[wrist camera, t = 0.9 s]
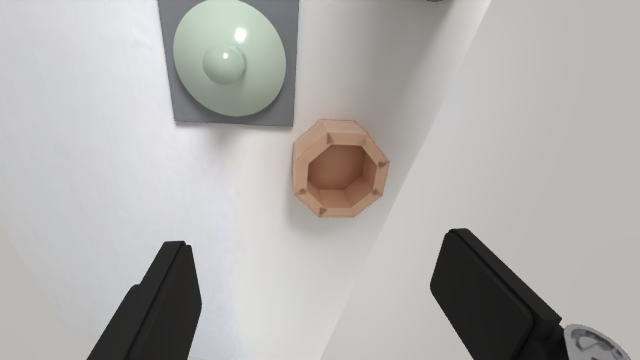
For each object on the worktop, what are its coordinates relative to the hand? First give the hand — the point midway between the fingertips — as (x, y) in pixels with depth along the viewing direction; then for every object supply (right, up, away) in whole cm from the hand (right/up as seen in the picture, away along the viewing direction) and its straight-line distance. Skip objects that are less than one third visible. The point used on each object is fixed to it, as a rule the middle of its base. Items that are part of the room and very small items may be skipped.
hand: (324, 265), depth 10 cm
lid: (-8, +14, +16) cm, 23 cm away
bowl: (+1, +6, +23) cm, 23 cm away
